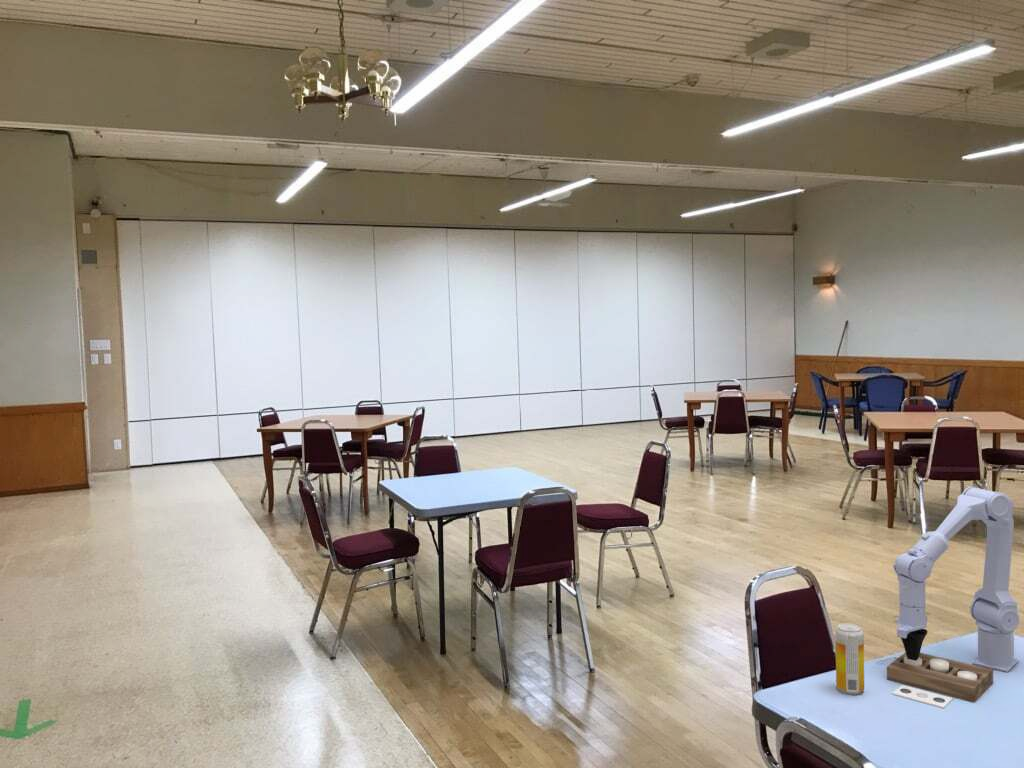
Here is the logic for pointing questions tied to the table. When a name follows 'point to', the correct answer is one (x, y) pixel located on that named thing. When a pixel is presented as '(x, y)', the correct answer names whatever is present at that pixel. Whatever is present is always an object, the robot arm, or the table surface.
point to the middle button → (939, 665)
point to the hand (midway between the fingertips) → (912, 659)
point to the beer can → (849, 658)
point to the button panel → (941, 677)
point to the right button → (967, 675)
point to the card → (922, 696)
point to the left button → (913, 662)
